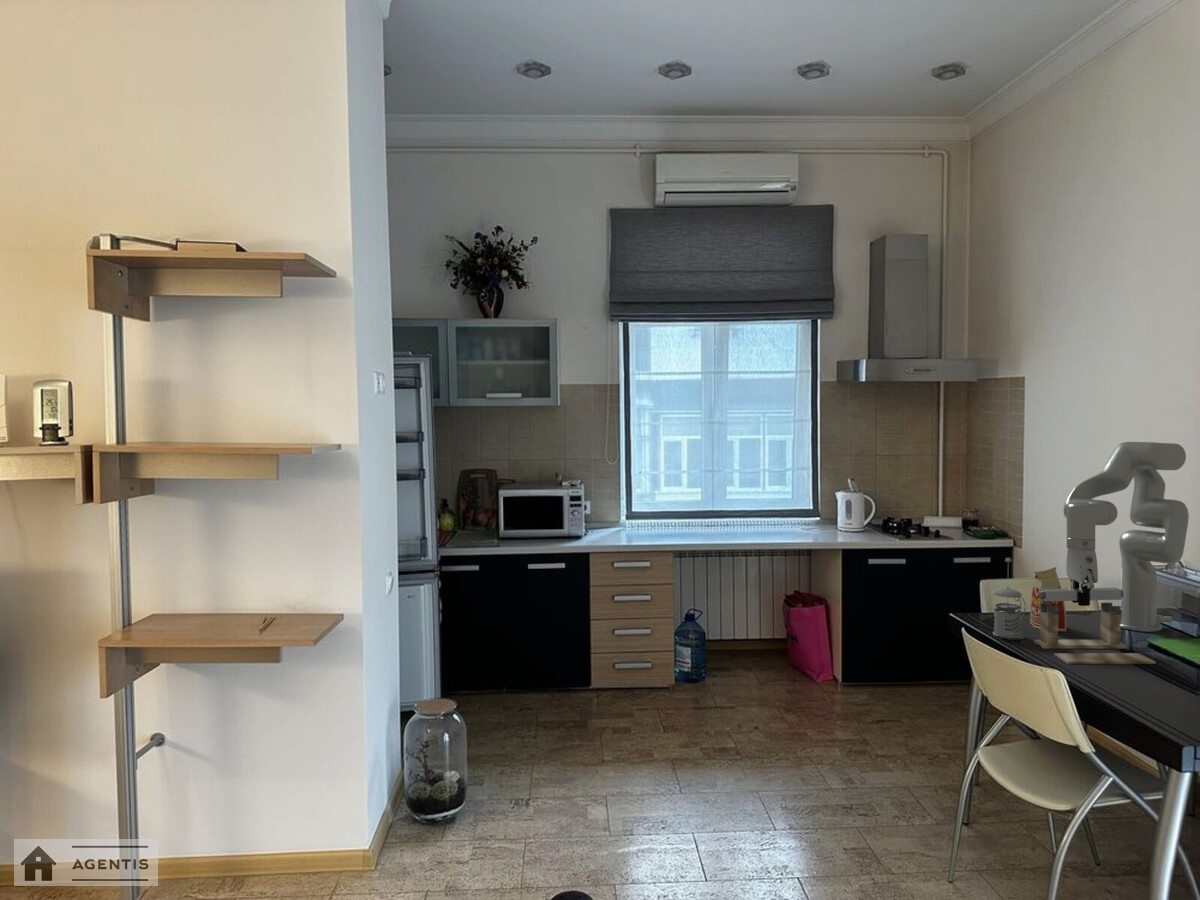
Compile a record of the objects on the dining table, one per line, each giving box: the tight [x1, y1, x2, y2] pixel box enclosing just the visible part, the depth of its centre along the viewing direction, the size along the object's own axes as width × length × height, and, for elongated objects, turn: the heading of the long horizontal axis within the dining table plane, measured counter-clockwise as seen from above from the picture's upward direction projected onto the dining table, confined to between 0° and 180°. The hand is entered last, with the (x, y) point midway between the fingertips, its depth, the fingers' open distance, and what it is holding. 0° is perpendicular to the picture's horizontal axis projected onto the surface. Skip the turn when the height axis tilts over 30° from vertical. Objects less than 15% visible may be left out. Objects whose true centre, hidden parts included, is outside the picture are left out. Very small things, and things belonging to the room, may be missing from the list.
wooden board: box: [1053, 652, 1157, 665], centre depth 244 cm, size 24×8×1 cm, turn 87°
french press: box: [992, 557, 1026, 638], centre depth 269 cm, size 10×12×25 cm
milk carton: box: [1029, 566, 1067, 632], centre depth 278 cm, size 9×9×20 cm
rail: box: [1039, 587, 1124, 602], centre depth 257 cm, size 24×3×3 cm, turn 87°
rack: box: [1033, 602, 1127, 649], centre depth 257 cm, size 24×6×12 cm, turn 87°
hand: (1080, 603), depth 257 cm, fingers closed on rail, 3 cm apart
